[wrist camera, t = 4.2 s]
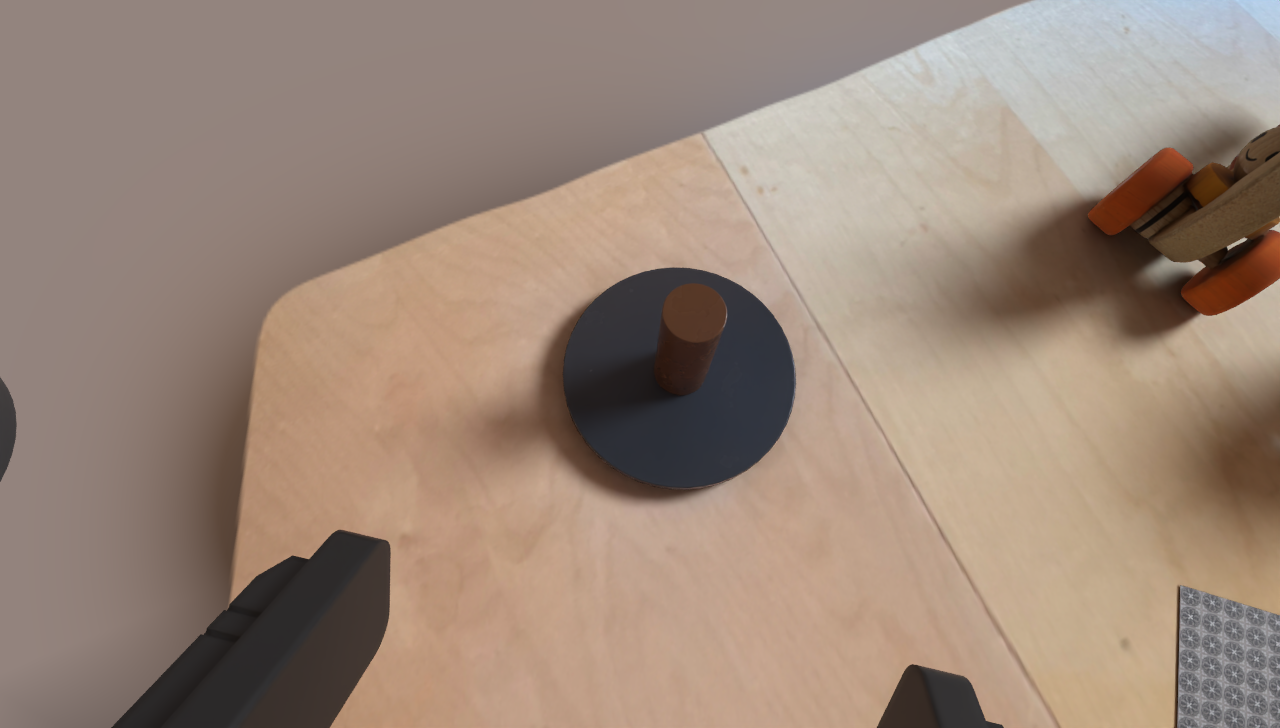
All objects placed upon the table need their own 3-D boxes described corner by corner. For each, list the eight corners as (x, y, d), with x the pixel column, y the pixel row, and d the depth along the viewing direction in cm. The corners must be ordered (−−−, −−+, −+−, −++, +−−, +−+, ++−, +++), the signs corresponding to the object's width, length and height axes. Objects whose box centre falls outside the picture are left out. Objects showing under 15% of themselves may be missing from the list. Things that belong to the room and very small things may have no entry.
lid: (564, 496, 32) (547, 461, 24) (564, 280, 36) (549, 190, 28) (803, 487, 32) (861, 450, 25) (777, 275, 36) (819, 185, 28)
